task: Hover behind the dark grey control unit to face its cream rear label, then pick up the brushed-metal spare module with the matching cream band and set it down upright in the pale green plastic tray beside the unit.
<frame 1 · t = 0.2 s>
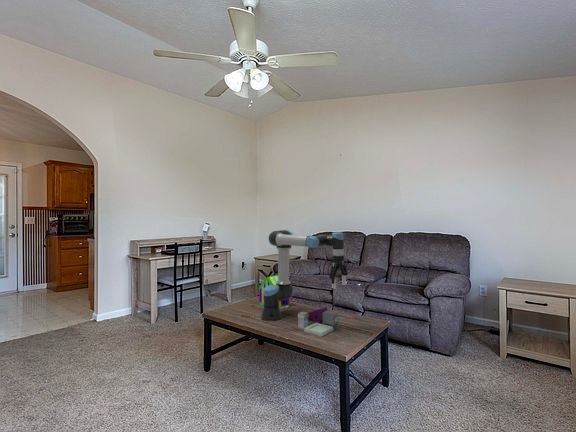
hand: (339, 286, 222), 28 cm above the table, fingers open, 13 cm apart
spare module: (303, 327, 222), on the table
mounting bracket: (315, 319, 240), on the table
tray: (318, 331, 215), on the table
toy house: (274, 305, 278), on the table
control unit: (330, 327, 222), on the table
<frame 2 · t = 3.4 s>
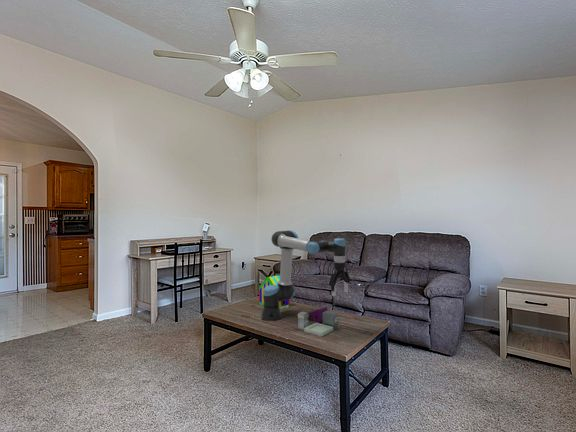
hand: (339, 294, 216), 24 cm above the table, fingers open, 13 cm apart
nothing on the table moved.
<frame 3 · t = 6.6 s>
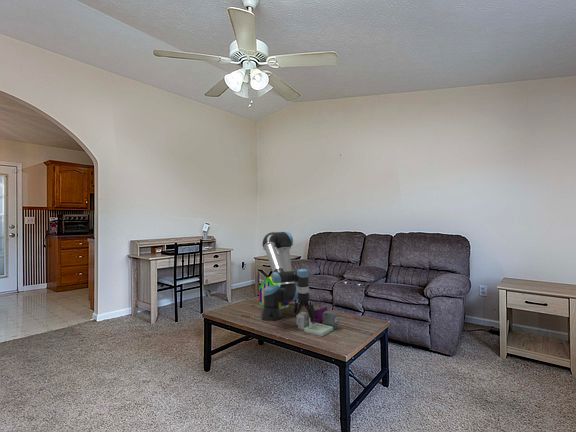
hand: (304, 325, 221), 2 cm above the table, fingers open, 10 cm apart
nothing on the table moved.
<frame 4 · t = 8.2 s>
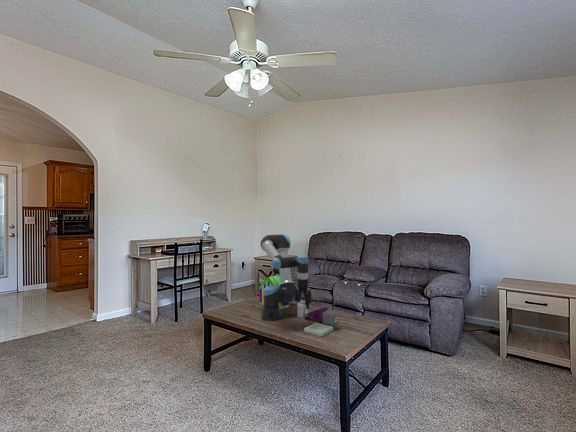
hand: (302, 312, 222), 10 cm above the table, fingers closed on spare module, 5 cm apart
spare module: (302, 316, 222), point 8 cm above the table, touching gripper
everything else where it was.
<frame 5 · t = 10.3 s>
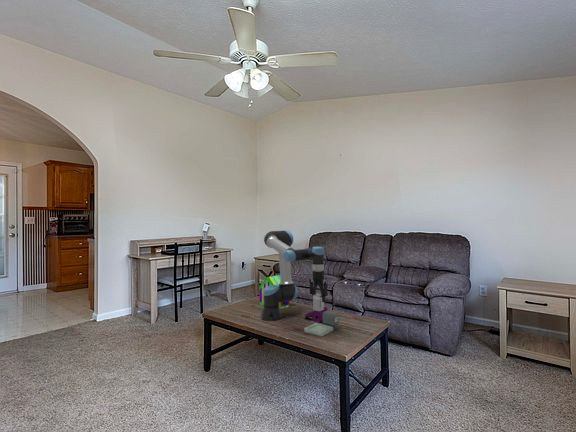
hand: (318, 305, 215), 17 cm above the table, fingers closed on spare module, 5 cm apart
spare module: (318, 309, 215), point 14 cm above the table, touching gripper
everything else where it was.
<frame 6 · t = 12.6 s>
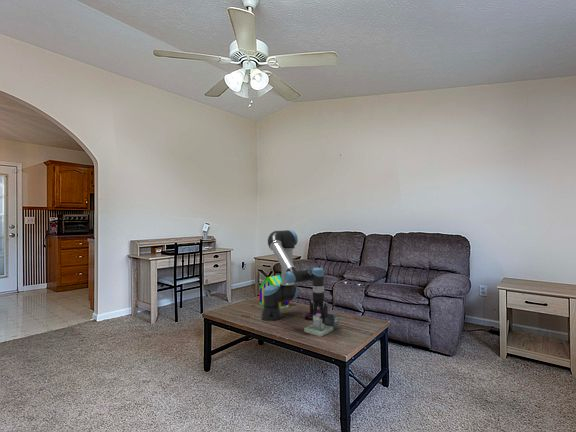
hand: (318, 327, 215), 3 cm above the table, fingers closed on spare module, 5 cm apart
spare module: (318, 330, 215), point 1 cm above the table, touching gripper, tray
everything else where it was.
when the fingers open (2 cm above the table, at t = 13.1 s): spare module stays where it is, resting on tray.
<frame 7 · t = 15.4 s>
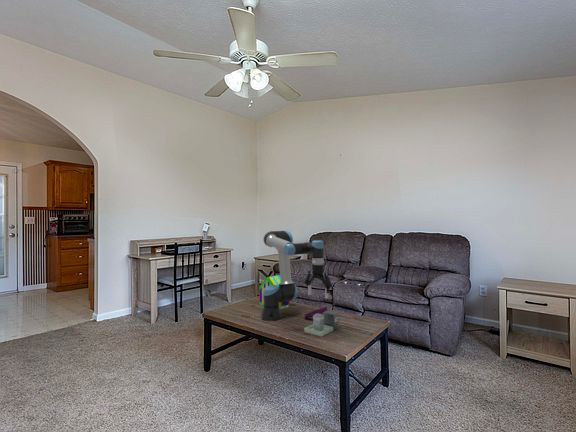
hand: (318, 296, 215), 23 cm above the table, fingers open, 13 cm apart
spare module: (318, 330, 215), point 1 cm above the table, touching tray
everything else where it was.
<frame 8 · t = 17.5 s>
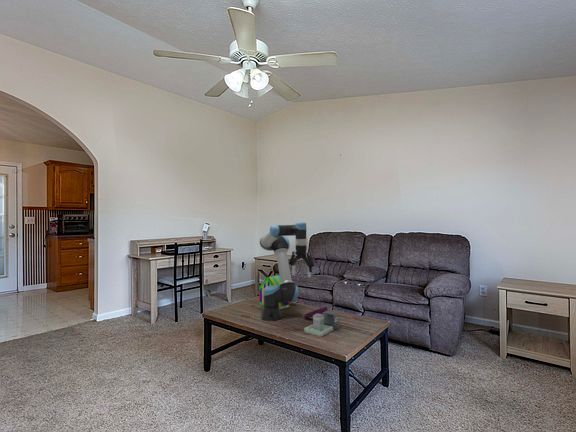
hand: (301, 276, 224), 35 cm above the table, fingers open, 13 cm apart
nothing on the table moved.
at the end: spare module inside the target area on the tray (0.2 cm from its centre), point 0.8 cm above the tray's base; spare module tilted 0°; the gripper is holding nothing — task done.
